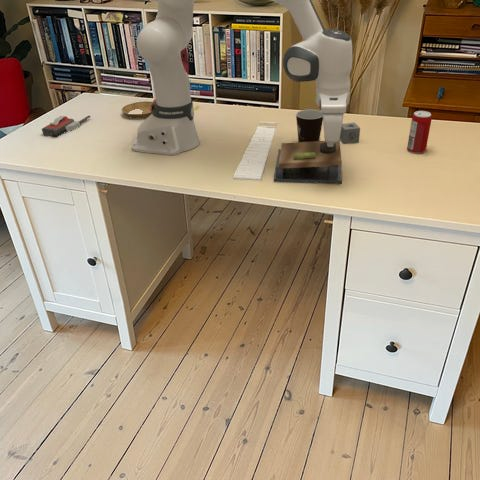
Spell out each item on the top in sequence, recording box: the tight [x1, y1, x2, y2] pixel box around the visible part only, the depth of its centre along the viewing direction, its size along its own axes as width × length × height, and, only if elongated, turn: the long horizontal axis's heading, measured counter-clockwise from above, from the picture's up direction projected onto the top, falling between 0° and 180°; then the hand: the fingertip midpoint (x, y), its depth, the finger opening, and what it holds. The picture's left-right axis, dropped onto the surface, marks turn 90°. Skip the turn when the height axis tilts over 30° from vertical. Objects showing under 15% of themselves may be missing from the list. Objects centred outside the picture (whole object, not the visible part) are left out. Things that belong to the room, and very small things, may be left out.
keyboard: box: [232, 121, 278, 181], centre depth 159 cm, size 45×8×2 cm, turn 169°
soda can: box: [406, 110, 433, 155], centre depth 149 cm, size 6×6×12 cm
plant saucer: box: [121, 101, 153, 119], centre depth 189 cm, size 15×15×3 cm
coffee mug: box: [295, 109, 323, 142], centre depth 158 cm, size 12×9×10 cm
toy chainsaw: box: [41, 115, 91, 138], centre depth 179 cm, size 9×4×20 cm
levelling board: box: [279, 139, 343, 169], centre depth 140 cm, size 17×14×3 cm
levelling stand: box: [273, 148, 343, 185], centre depth 143 cm, size 19×15×4 cm
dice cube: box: [339, 122, 361, 145], centre depth 160 cm, size 5×5×5 cm
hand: (330, 144), depth 139 cm, fingers closed, pressing on levelling board
